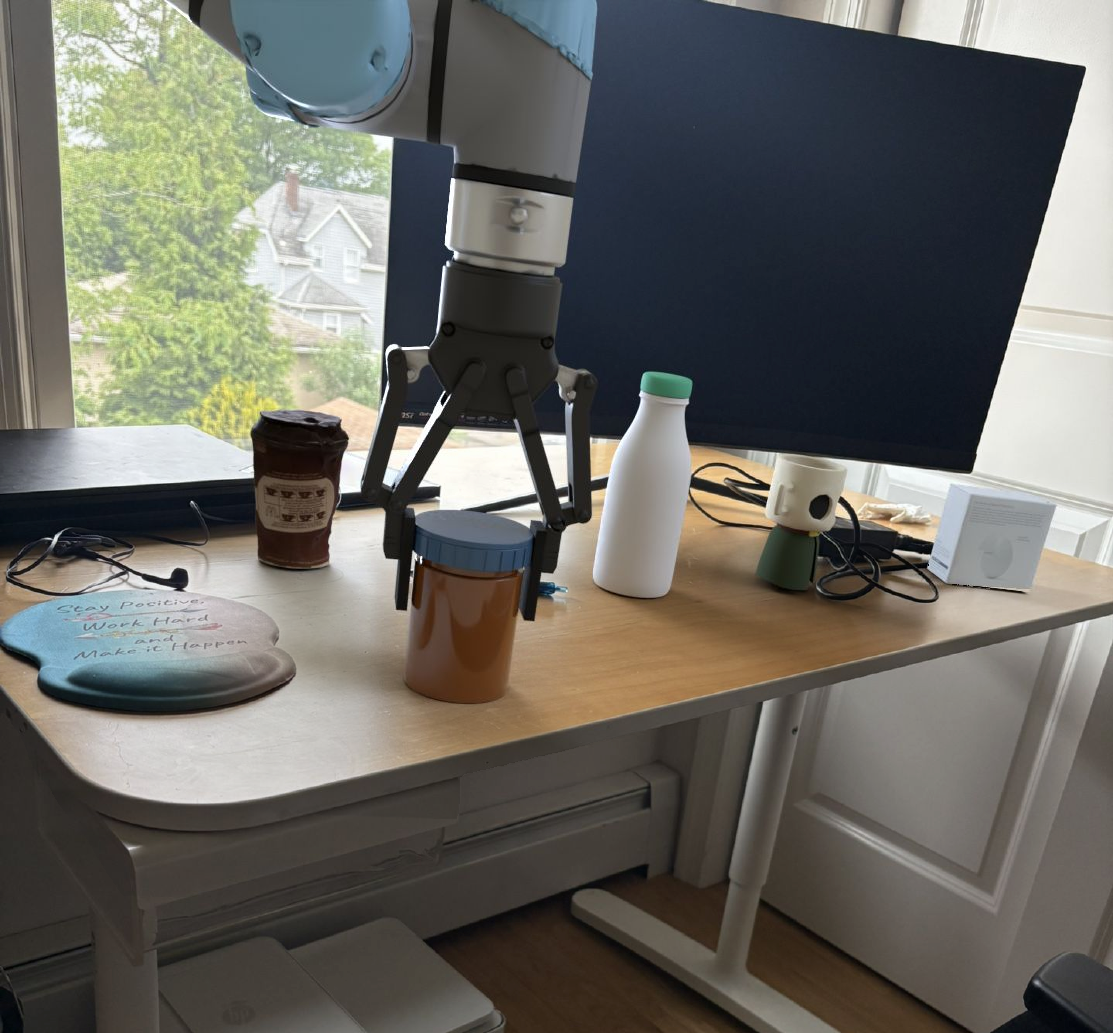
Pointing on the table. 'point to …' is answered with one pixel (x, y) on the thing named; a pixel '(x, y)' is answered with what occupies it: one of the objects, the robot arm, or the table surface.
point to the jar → (461, 632)
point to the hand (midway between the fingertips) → (464, 609)
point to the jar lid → (472, 540)
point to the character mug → (799, 518)
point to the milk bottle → (647, 493)
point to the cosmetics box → (990, 537)
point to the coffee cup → (296, 485)
